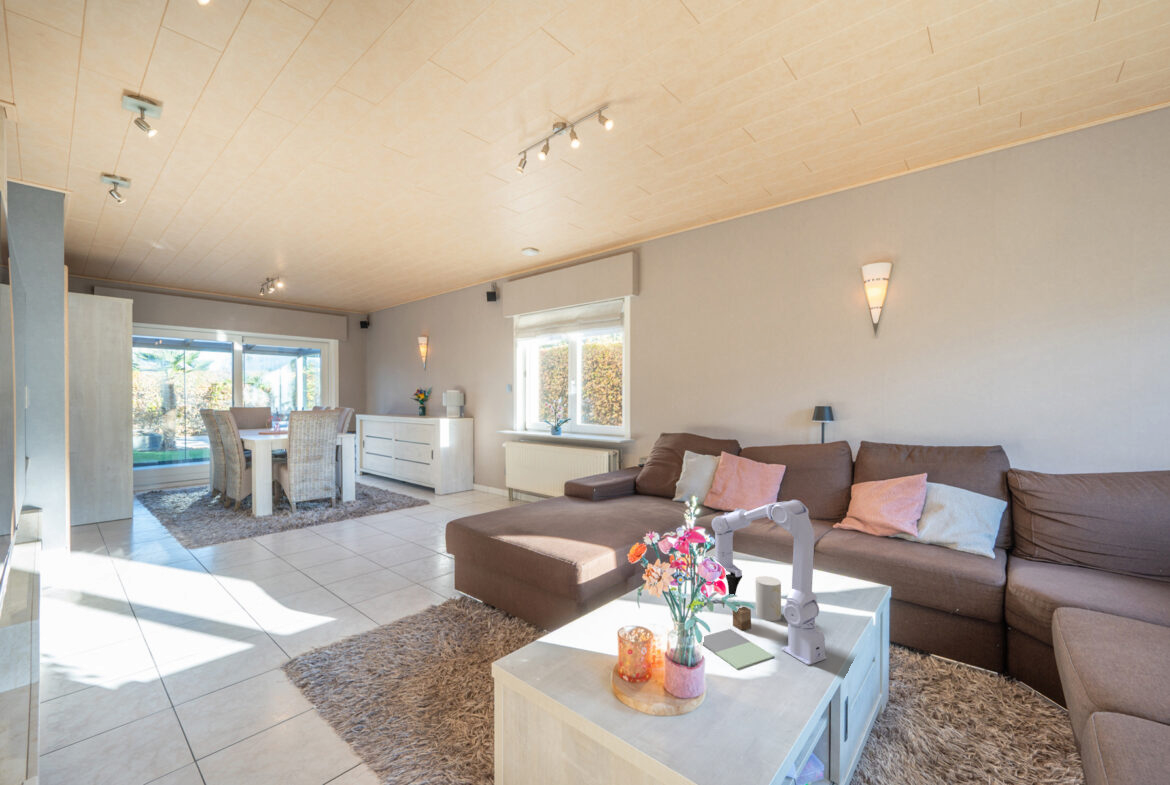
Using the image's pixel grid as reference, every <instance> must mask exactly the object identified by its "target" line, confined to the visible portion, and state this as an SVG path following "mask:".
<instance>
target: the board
mask: <svg viewBox="0 0 1170 785" xmlns="http://www.w3.org/2000/svg"><path fill="white" fill-rule="evenodd" d="M703 636H704V642H703V645H702V646H703V647H705V649H708V650H709V651H710V652H712V653H713V654H714V655H716V656H718V657H719V658H721V659H722V660H723V661H725V662H726V663H727V664H728V665H730V666H731V667H733V668H734V669H736V670H740V669H743V668H746V667H749V666H752V665H756V664H758V663H762V662H763V661H764V662H765V661H767V660H770V659H774V657H775V655H774V654H772V653H770V652H768V651H767V650H765V649H764V648H762V647H760V646H759V645H757V644H755V643H754V642H752V641H750V640H749V639H747V638H745V637H744V636H742V635H741V634H740V633H738V632H736V631H734V630H733V629H731V628H727V629H725V630H721V631H718V632H714V633H710V634H707V635H703Z"/></svg>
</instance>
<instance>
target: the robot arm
mask: <svg viewBox="0 0 1170 785" xmlns="http://www.w3.org/2000/svg"><path fill="white" fill-rule="evenodd" d="M809 511H810V510H809V508H807V506H806V505H805V504H803V502H802V501H800V500H799V499H798V500H797V499H792V500H791V499H790V500H789V501H779V502H772V503H768V504H765V505H762V506H759V507H757V508H753V509H751V510H746V509H744V508H740V507H738V508H735V509H734V511H732V512H724V513H723V514H722V515H717V516H715V517H714V518H713V519H712V520H711V528H712V530H713V532H714V536H715V537H714V539H715V540H714V543H715V544H714V545H715V546H714V548H715V549H714V554H715V557H713V556H711V557H712V558H713V559H715V560H716V561H717V562H719V563H720V564H721V565H722V566H723V567H724V568H725V569H726V572H727V573H728V574H725V575H726V576H725V579H726V581H727V586H728V587H727V588H728V596H730V594H734V595H733V596H735V595H736V593H737V589H738V586H739V584H740V582H741V580H742V578H743V573H742V569H740V568H738V567H737V566H736V565H735V564H734V555H733V554H734V549H733V548H734V545H733V544H734V542H733V540H734V538H733V537H734V532H735V531H736V530H737V531H738V530H741V529H744V528H747V527H750V526H751V524H752V522H753V521H756V520H760V519H764V518H766V517H767V518H768V520H770V521H772V520H773V521H774V523H776V525H779V526H780V528H783V529H784V530H785V531H787V532H788V533H789V534H791V536H792V537H793V548H792V551H793V554H792V571H791V572H792V573H791V574H792V576H791V589H790V591H789V593H788V595H787V597H786V603H785V605H784V606H783V609H782V611H783V616H784V618H785V620H786V621H787V626H788V627H787V628H788V629H787V636H788V640H787V642H788V643H787V644H788V645H786V646H783V647H781V651H784V652H785V653H787V654H789V655H790V656H792V657H793V658H795V659H797V660H798V661H800V662H802V663H803V664H806V665H807V666H809V665H814V664H815V663H819V662H821V661H823V660H827V659H828V657H827V656H826V648H825V647H826V641H825V635H824V633H823V632H822V631H820V630H819V628H817V626H816V618H817V617H818V616H819V614H820V607H819V604H818V601H817V600H818V599H817V598H818V597H817V594H815V593H814V592H813V577H814V576H813V575H814V574H813V573H814V558H815V557H814V554H815V530H814V527H813V524H812V522H811V519H810V517H809V515H810V514H809V513H810V512H809Z"/></svg>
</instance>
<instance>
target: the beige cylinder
mask: <svg viewBox="0 0 1170 785" xmlns="http://www.w3.org/2000/svg"><path fill="white" fill-rule="evenodd" d="M781 591H782V582H781V580H780V579H779V578H776V577H773V576H767V575H766V576H765V575H761V576H758V577H756V578H755V616H756V617H757V616H758V618H759V619H760V620H762V621H763V620H764V621H769V622H776V621H777V620H778V621H780V620H781V619H782V592H781ZM779 619H780V620H779Z"/></svg>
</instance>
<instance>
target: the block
mask: <svg viewBox="0 0 1170 785" xmlns="http://www.w3.org/2000/svg"><path fill="white" fill-rule="evenodd" d="M732 626H733V627H735V628H737V629H738V630H739V631H741V632H742V631H745V630H749V628H750V629H752V612H751V608H748V607H747V606H745V607H742V608H739V609H738V611H737V612H735V611H734V610H733V609H732Z"/></svg>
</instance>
